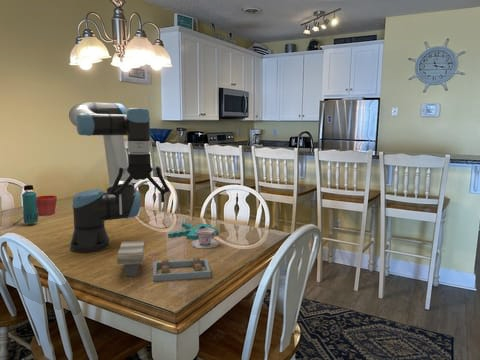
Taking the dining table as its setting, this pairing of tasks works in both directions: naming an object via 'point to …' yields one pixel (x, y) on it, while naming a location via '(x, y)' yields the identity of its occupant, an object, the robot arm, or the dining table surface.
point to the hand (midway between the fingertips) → (140, 212)
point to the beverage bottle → (29, 205)
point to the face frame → (166, 275)
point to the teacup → (205, 238)
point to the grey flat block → (131, 253)
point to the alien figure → (191, 231)
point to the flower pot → (46, 205)
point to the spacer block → (131, 269)
